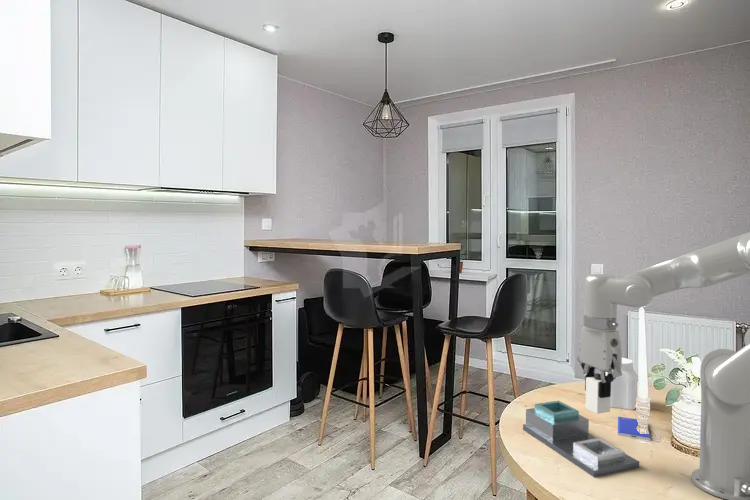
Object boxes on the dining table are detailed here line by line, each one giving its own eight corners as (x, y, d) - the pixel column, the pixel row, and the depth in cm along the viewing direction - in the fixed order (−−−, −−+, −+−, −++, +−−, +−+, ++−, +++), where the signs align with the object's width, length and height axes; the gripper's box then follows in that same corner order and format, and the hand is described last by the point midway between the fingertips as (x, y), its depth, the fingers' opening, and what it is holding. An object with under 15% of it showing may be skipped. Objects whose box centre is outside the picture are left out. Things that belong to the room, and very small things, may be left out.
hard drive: (617, 416, 145) (617, 431, 134) (647, 420, 141) (650, 437, 130) (617, 421, 145) (617, 436, 134) (647, 425, 141) (650, 442, 130)
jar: (601, 406, 155) (601, 362, 155) (598, 396, 164) (599, 354, 164) (640, 411, 151) (641, 365, 151) (635, 400, 160) (636, 357, 160)
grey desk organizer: (639, 467, 116) (639, 435, 115) (593, 477, 111) (594, 444, 111) (562, 423, 142) (562, 397, 142) (523, 429, 138) (523, 403, 138)
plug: (609, 411, 118) (610, 375, 117) (597, 413, 116) (597, 377, 116) (597, 405, 121) (598, 371, 121) (585, 407, 120) (586, 372, 120)
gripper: (639, 329, 111) (636, 404, 112) (587, 316, 127) (585, 381, 128) (614, 331, 109) (611, 407, 110) (564, 317, 125) (562, 384, 126)
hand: (597, 393), depth 119 cm, fingers closed on plug, 4 cm apart
